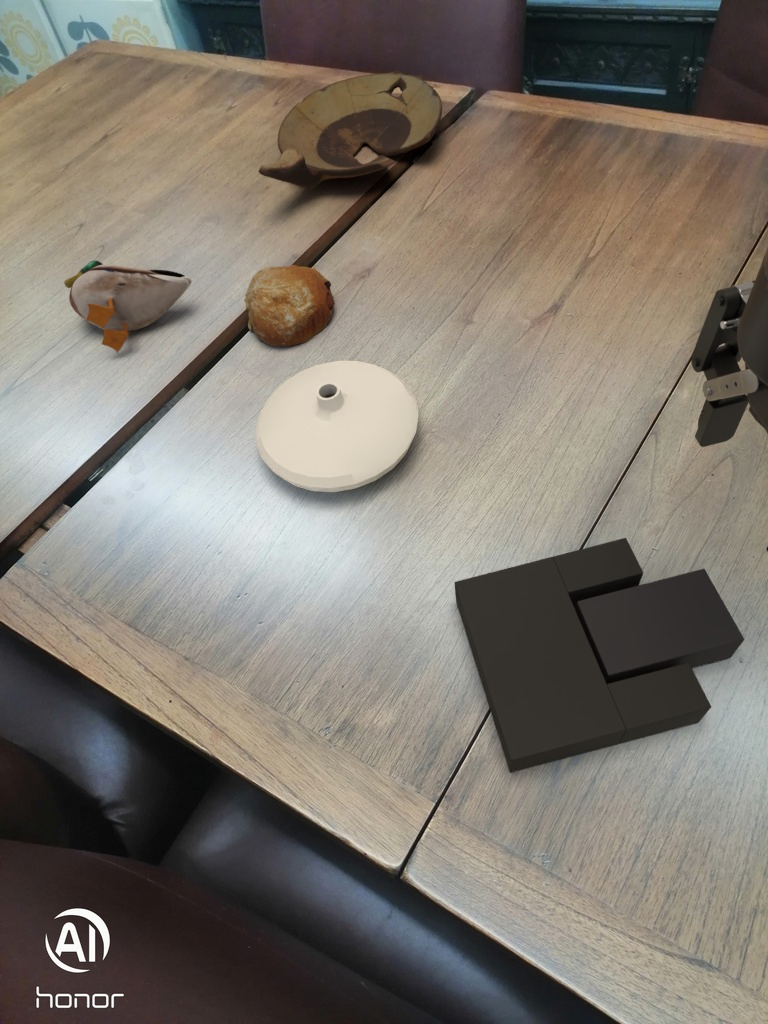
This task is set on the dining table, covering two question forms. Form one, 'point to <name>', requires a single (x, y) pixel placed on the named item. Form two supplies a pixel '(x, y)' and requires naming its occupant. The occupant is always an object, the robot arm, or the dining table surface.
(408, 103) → the oil lamp
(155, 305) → the decorative duck model
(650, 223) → the dining table surface
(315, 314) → the bread roll
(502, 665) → the socket pad
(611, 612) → the pad
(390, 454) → the pot lid
